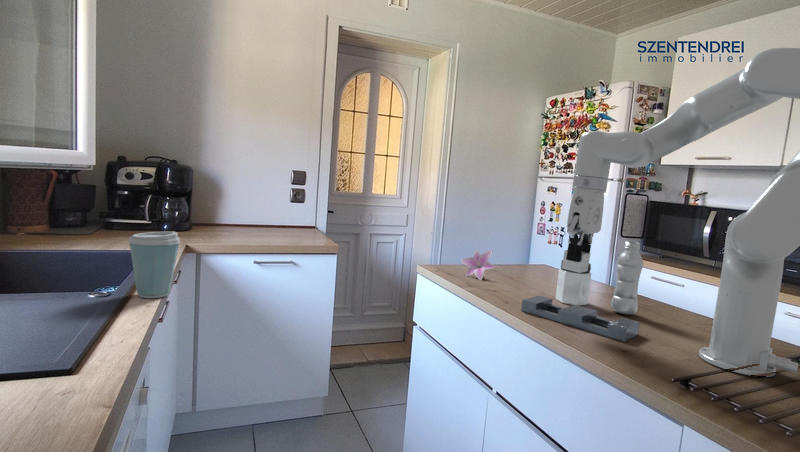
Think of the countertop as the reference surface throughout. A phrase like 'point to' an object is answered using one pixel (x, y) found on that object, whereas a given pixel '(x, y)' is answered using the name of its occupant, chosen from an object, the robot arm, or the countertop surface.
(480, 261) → the lily
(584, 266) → the nut
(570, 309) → the rail
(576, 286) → the jar
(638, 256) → the plastic bottle
